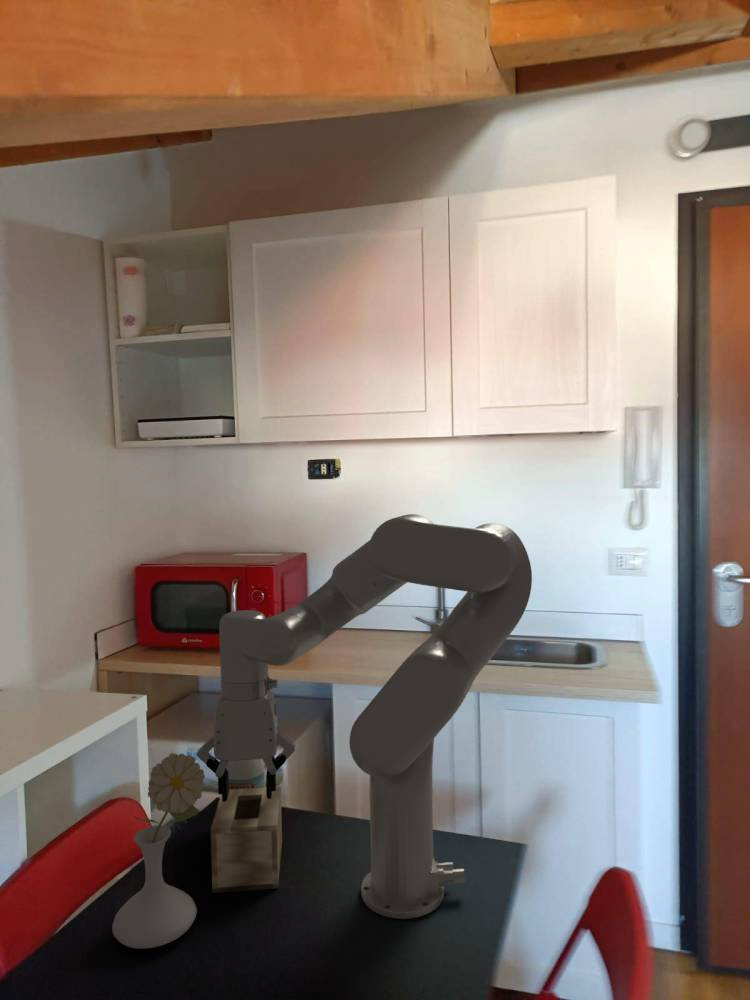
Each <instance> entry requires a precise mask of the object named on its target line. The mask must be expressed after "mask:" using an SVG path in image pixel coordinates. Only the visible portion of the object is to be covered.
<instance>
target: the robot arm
mask: <svg viewBox="0 0 750 1000" xmlns="http://www.w3.org/2000/svg"><path fill="white" fill-rule="evenodd" d="M532 572H533V571H532V565H531V561H530V557H529V554H528V552H527V549H526V547H525V545H524V543H523V541H522V539H521V538H520V537H519V535H518V533H516V532H515V531H514V530H513V529H511V527H508V526H507V525H504V524H501V523H496V522H495V523H494V522H492V523H491V522H490V523H484V524H481V525H478V526H476V527H473V528H472V527H464V526H456V525H455V526H454V525H447V524H446V525H444V524H436V523H433V522H432V521H431V520H430V519H429V518H427V517H425V516H424V515H420V514H415V513H411V514H410V513H409V514H405V515H404V514H403V515H400V516H396V517H392V518H390V519H388V520H385V521H384V522H383V523H381V524H380V525H379V526H378V527H377V528H376V529H375V530H374V532H373V533H372V536H371V538H370V539H369V540H368V541H366V542H365V543H364V544H363V545H361V546H360V547H358V548H357V549H356V550H354V552H352V553H350V554H349V555H347V557H345V558H344V559H342V560H340V562H339V563H337V564H336V565H335V566H334V568H333V569H332V573H331V575H330V578H329V579H328V580H327V581H326V582H325V583H324V584H323V585H321V586H320V587H319V588H318V589H316V590H315V591H313V593H312V594H310V595H309V596H307V597H306V598H305V599H303V600H302V601H301V602H299V603H297V604H296V605H295V606H293V607H292V608H291V607H290V608H289V609H287V610H285V611H283V612H280V613H279V614H276V615H273V616H270V617H267V618H266V615H265V614H263V613H262V612H260V611H258V610H250V609H249V610H248V609H247V610H246V609H243V610H234V611H230V612H227V613H225V614H223V616H222V617H221V618H220V620H219V629H218V630H219V655H220V657H219V659H220V662H219V664H220V665H219V666H220V694H219V695H218V696H217V700H216V704H215V705H216V706H215V712H214V721H213V722H214V724H213V725H214V726H213V735H212V736H211V737H210V738H209V739H207V740H206V742H205V743H204V744H203V745H202V746H200V748H199V749H198V750H197V753H196V757H197V758H198V759H199V760H201V761H202V762H203V763H204V764H205V765H206V767H207V768H208V769H209V770H211V771H212V772H213V773H214V774H215V777H216V778H217V790H218V791H217V793H218V795H221V794H222V802H226V801H227V799H228V795H229V772H228V771H227V768H226V766H227V764H228V762H229V761H238V760H256V759H263V762H264V766H266V773H265V774H266V775H265V788H266V794H267V798H268V799H271V796H272V791H276V787H277V775H276V774H277V771H278V770H279V769H280V768H281V767H282V766H283V765H284V764H285V763H286V761H287V760H288V759H289V758H291V756H292V754H293V753H294V752H295V751H296V745H295V744H294V743H293V742H292V741H291V740H290V739H288V738H287V736H285V735H283V734H282V733H281V732H280V731H279V729H278V728H279V726H278V725H279V724H278V715H277V714H278V713H277V707H276V700H275V695H274V693H273V691H271V690H272V689H275V688H276V689H277V688H278V679H273V678H271V677H269V668H268V666H276V667H281V666H282V667H283V666H286V665H288V664H289V665H290V664H291V663H293V662H294V661H296V660H297V659H299V658H300V657H302V656H303V655H304V654H306V653H308V652H309V651H311V650H312V649H314V648H316V647H317V646H318V645H320V644H321V643H322V642H324V641H325V640H326V639H328V638H329V637H330V636H332V635H333V634H334V633H336V632H337V631H339V630H340V629H341V628H342V627H343V628H344V626H345V625H347V624H349V623H350V622H351V621H353V620H354V619H355V618H356V617H357V618H358V616H361V615H364V614H366V613H367V612H369V611H370V610H371V609H373V608H375V607H376V606H377V605H378V604H380V603H381V602H383V601H384V600H385V599H387V598H388V597H389V596H390V595H392V594H393V593H395V592H396V591H397V590H399V589H400V588H401V587H403V586H404V585H406V584H407V583H410V584H414V585H421V586H428V587H435V588H441V589H446V590H454V591H460V592H466V593H465V594H464V595H463V597H462V598H461V599H460V601H459V602H458V603H457V604H456V605H455V606H454V608H453V609H452V611H451V612H450V614H449V615H448V616H447V617H446V618H445V620H444V621H443V622H442V623H441V624H440V625H439V627H438V628H437V629H436V630H435V631H434V632H433V633H432V634H431V635H430V636H429V637H428V638H427V639H426V640H425V641H424V642H423V643H421V644H420V645H419V646H418V647H416V648H415V650H413V651H412V652H411V653H410V655H409V656H408V657H406V659H405V660H404V661H403V662H402V663H401V665H400V666H398V668H397V669H396V671H395V672H394V673H393V674H392V675H391V676H390V678H389V679H388V680H387V681H386V683H385V684H384V685H383V686H382V688H381V689H380V690H379V691H378V692H377V694H376V695H375V696H374V698H372V700H371V701H370V702H369V703H368V704H367V706H366V707H365V708H364V710H362V712H361V713H360V714H359V715H357V716H358V717H357V718H356V719H355V721H353V725H352V727H351V729H350V732H349V739H348V741H349V750H350V751H349V752H350V753H351V757H352V759H353V761H354V763H355V764H356V766H357V767H358V769H360V770H361V771H362V772H363V773H365V774H367V775H369V826H370V827H369V831H370V833H369V834H370V835H369V836H370V837H369V838H370V842H369V843H370V872H369V873H367V874H366V875H365V876H364V877H363V880H362V882H361V887H360V893H361V898H362V901H363V902H364V904H365V906H367V907H368V908H369V909H370V910H371V911H372V912H374V913H376V914H377V915H381V916H383V917H386V918H391V919H397V920H407V919H415V918H420V917H423V916H425V915H428V914H430V913H432V912H433V911H435V910H436V909H437V908H438V907H439V906H440V905H441V904H442V902H443V900H444V896H445V885H446V884H462V883H463V884H464V883H465V882H466V874H465V869H464V868H463V867H462V868H454V862H453V861H444V862H438V861H437V860H435V857H434V829H433V827H434V823H433V822H434V821H433V820H434V819H433V817H434V815H433V792H434V791H433V790H434V789H433V762H434V761H433V760H434V745H435V738H436V736H438V734H439V733H440V732H441V731H442V729H443V728H444V727H445V726H446V725H447V724H448V723H449V721H450V720H451V719H452V718H453V716H454V715H455V714H456V713H457V712H458V710H459V708H460V707H461V706H462V704H463V702H464V701H465V699H466V697H467V695H468V693H469V691H470V690H471V688H472V686H473V683H474V681H475V680H476V678H477V677H478V675H479V674H480V673H481V671H482V670H483V669H484V668H485V666H486V665H487V664H488V662H489V661H490V660H491V659H492V658H493V657H494V656H495V655H496V653H497V652H498V651H499V649H500V647H502V645H503V644H504V643H505V642H506V640H507V639H508V638H509V636H510V635H511V634H512V632H513V631H514V629H515V628H516V627H517V625H518V624H519V622H520V620H521V619H522V617H523V615H524V613H525V611H526V608H527V607H528V603H529V599H530V596H531V592H532V591H531V590H532V584H533V574H532ZM278 746H279V747H281V748H282V749H283V750H282V751H281V752H280V753H278V755H277V752H278V751H277V750H278V749H277V748H278ZM212 749H213V754H214V756H213V755H212V754H211V753H210V751H211V750H212ZM276 755H277V756H276ZM275 756H276V757H275Z"/></svg>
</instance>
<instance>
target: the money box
mask: <svg viewBox="0 0 750 1000" xmlns="http://www.w3.org/2000/svg"><path fill="white" fill-rule="evenodd" d="M214 814H215V815H214V816H213V819H212V824H211V828H210V846H211V848H210V851H211V852H210V853H211V854H210V855H211V884H212V885H211V886H212V888H211V889H212V890H211V891H212V893H213V894H215V893H217V894H219V893H231V892H243V891H244V892H245V891H260V890H261V891H262V890H272V889H273V890H274V889H275V890H277V889H279V883H280V872H281V870H280V869H281V860H282V850H283V849H282V847H283V827H282V825H283V823H282V821H283V820H282V818H283V817H282V787H281V786H276V791H272V796H271V799H268V798H267V794H266V787H265V788H249V789H231V790H229V795H228V799H227V801H226V802H222V794H220V796H219V800H218V804H217V807H216V810H215V813H214Z"/></svg>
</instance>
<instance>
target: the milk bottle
mask: <svg viewBox="0 0 750 1000" xmlns="http://www.w3.org/2000/svg"><path fill="white" fill-rule="evenodd" d="M226 768H227V771H228V772H229V790H231V789H249V788H266V775H265V774H266V773H265V763H264V761H263V759H256V760H238V761H229V762H228V764H227V766H226Z"/></svg>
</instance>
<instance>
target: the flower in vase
mask: <svg viewBox="0 0 750 1000" xmlns="http://www.w3.org/2000/svg"><path fill="white" fill-rule="evenodd" d="M204 773H205V771H204V769H202V768H201V766H200V763H198V762H196V758H195V756H192V755H190V754H187V755H185V754H184V753H180V754H178V753H173V752H171V753H170V754H169V755H168V756H166V757H164V758H163V759H162V760H161V763H156V765H155V766H153V767H152V769H151V771H150V779H149V781H148V787H147V788H148V789H147V790H148V792H147V796H148V798H151V802H152V804H154V805H156V809H157V811H162V812H163V813H164V815H163V817H162V818H161V820H160V822H158V821H156V820H154V819H150V818H141V817H137V816H136V815H133V817H134V819H136V820H138V821H142V822H143V821H144V822H148V823H156V824H158V825H152V826H147V827H144V828H143V829H141V830H139V831H137V832H136V833H135V835H134V836H133V841H134V843H135V844H137V846H138V847H139V849H140V850H141V853H142V856H143V861H144V868H145V869H144V872H145V876H144V878H145V881H144V884H143V887H142V888H141V889H140V890H139V891H138V892H136V894H134V895H133V896H131V897H130V898H129V899H128V900H127V901H126V902H125V903H124V904H122V905H123V906H121V907H120V908H119V910H118V911H117V913H116V914H115V917H114V920H113V923H112V926H111V930H112V931H111V932H112V935H113V937H114V938H115V939H116V940H117V941H118V942H119V943H121V944H122V945H123V946H126V947H127V948H132V949H137V950H139V949H141V950H142V949H143V950H144V949H145V950H146V949H152V948H157V947H161V946H165V945H167V944H170V943H171V942H174V941H175V940H177V939H178V938H180V937H182V936H183V935H184V934H185V933H187V931H188V930H190V927H191V926H192V925H193V923H194V921H195V919H196V918H197V917H196V916H197V912H198V909H197V906H196V904H195V901H194V899H193V898H192V896H190V895H189V894H188V893H187V892H185V891H183V890H182V889H179V888H177V887H175V886H172V885H169V884H168V883H166V882H165V881H164V877H163V864H162V863H163V855H164V849H165V845H166V842H167V841H168V839H169V838H170V836H171V834H172V830H171V828H169V827H168V826H165V825H162V824H163V823H164V822H165V820H166V817H167V815H168V814H170V816H171V817H173V818H174V819H175V820H176V821H178V822H184V821H186V820H188V819H190V818H192V817H194V816H195V815H197V814H198V813H199V812H200V810H199V809H198V808H197V807H196V806H195V804H196V802H197V801H198V800H199V799H201V798H202V795H203V789H204V788H205V782H204V780H205V778H206V776H205V774H204Z"/></svg>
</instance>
